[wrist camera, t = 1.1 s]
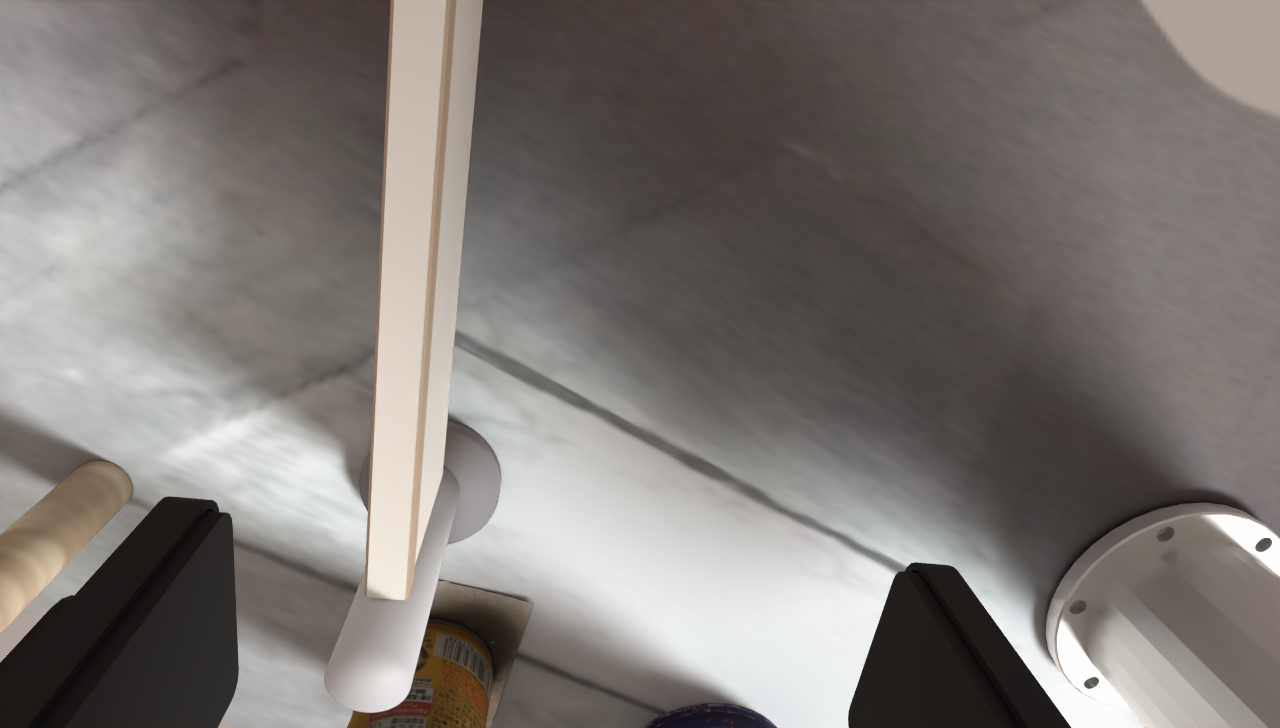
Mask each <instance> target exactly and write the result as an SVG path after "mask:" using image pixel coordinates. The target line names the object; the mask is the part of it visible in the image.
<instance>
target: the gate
mask: <svg viewBox="0 0 1280 728" xmlns="http://www.w3.org/2000/svg"><path fill="white" fill-rule="evenodd" d="M488 1H489V0H488ZM482 7H483V0H391V7H390V30H389V52H388V74H387V97H386V119H385V141H384V164H383V186H382V208H381V230H380V253H379V275H378V297H377V320H376V342H375V364H374V387H373V409H372V431H371V454H370V476H369V498H368V521H367V543H366V565H365V572H364V574H363V577H362V579H361V582H360V585H359V587H358V590H357V592H356V595H355V597H354V600H353V602H352V605H351V607H350V610H349V612H348V615H347V617H346V620H345V622H344V625H343V628H342V630H341V633H340V635H339V638H338V640H337V643H336V645H335V648H334V650H333V653H332V655H331V658H330V660H329V663H328V665H327V668H326V671H325V675H324V682H325V686H326V689H327V691H328V693H329V694H330V695H331V697H332V698H333V699H334V700H335V701H336V702H338V703H339V704H341V705H342V706H344V707H346V708H349V709H351V710H354V711H359V712H366V713H374V712H382V711H386V710H389V709H391V708H393V707H395V706H397V705H398V704H400V703H401V702H402V701H403V700H404V699H405V698H406V697H407V695H408V693H409V691H410V689H411V685H412V681H413V677H414V673H415V669H416V665H417V661H418V657H419V653H420V649H421V645H422V641H423V637H424V634H425V630H426V626H427V622H428V618H429V614H430V610H431V606H432V602H433V598H434V594H435V590H436V586H437V582H438V578H439V574H440V570H441V566H442V562H443V558H444V555H445V551H446V547H447V543H448V539H449V535H450V531H451V527H452V523H453V519H454V515H455V511H456V507H457V503H458V499H459V495H460V487H459V483H458V481H457V479H456V477H455V476H454V475H453V474H452V473H451V472H450V471H449V470H447V469H445V468H444V467H443V466H444V454H445V442H446V431H447V419H448V407H449V395H450V384H451V372H452V360H453V348H454V337H455V325H456V313H457V301H458V290H459V278H460V266H461V254H462V243H463V231H464V219H465V207H466V196H467V184H468V172H469V160H470V149H471V137H472V125H473V113H474V102H475V90H476V78H477V66H478V54H479V43H480V31H481V19H482Z"/></svg>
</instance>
